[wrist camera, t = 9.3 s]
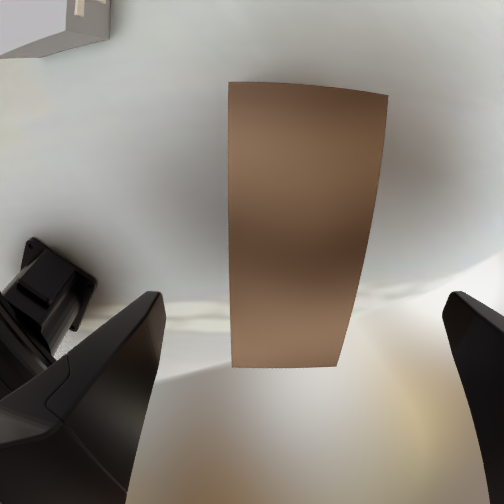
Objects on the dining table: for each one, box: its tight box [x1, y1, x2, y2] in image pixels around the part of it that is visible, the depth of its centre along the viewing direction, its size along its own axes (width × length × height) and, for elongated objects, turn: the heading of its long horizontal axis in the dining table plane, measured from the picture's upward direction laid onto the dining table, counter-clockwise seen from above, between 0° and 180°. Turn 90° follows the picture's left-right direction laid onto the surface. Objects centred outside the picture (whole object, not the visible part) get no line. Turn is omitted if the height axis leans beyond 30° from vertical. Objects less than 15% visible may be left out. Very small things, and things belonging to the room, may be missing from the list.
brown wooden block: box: [228, 82, 388, 368], centre depth 15 cm, size 12×5×8 cm, turn 179°
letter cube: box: [0, 0, 111, 59], centre depth 10 cm, size 5×5×5 cm
